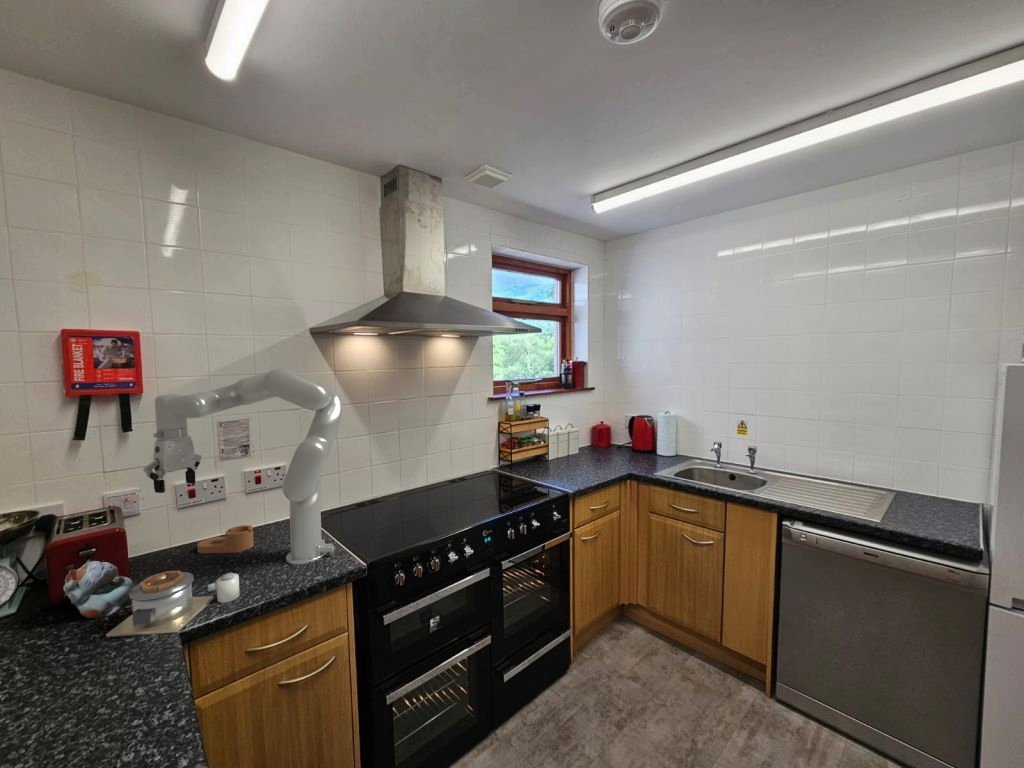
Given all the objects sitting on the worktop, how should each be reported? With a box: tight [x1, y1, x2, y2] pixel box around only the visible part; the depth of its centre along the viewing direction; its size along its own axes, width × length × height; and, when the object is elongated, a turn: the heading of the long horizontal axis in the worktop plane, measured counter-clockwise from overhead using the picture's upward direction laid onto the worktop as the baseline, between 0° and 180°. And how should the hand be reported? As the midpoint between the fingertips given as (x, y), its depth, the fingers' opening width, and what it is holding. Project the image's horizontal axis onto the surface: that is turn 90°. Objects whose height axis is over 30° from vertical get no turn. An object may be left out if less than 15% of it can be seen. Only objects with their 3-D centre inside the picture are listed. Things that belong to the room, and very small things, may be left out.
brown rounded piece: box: [196, 524, 254, 554], centre depth 152 cm, size 18×8×7 cm, turn 93°
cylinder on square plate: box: [105, 570, 215, 638], centre depth 111 cm, size 16×15×10 cm
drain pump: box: [207, 572, 241, 604], centre depth 119 cm, size 7×5×7 cm
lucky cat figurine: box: [63, 558, 135, 619], centre depth 115 cm, size 15×12×14 cm
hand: (175, 487), depth 134 cm, fingers open, 9 cm apart
